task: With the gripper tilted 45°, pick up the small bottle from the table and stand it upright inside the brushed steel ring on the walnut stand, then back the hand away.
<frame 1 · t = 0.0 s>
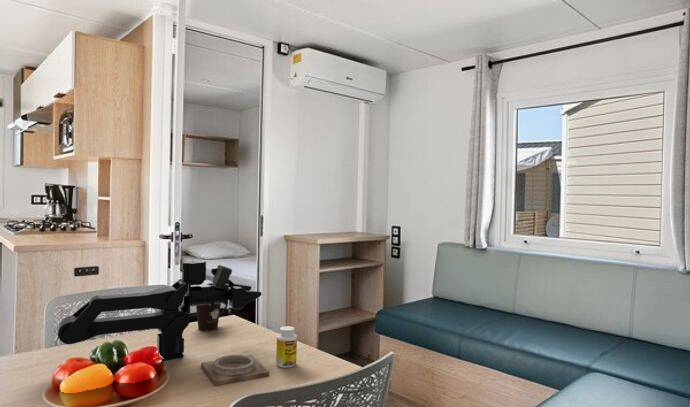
hand: (255, 290, 146), 17 cm above the table, tool horizontal, fingers open, 9 cm apart
coffee mug: (212, 328, 161), on the table
ring stand: (234, 370, 123), on the table
supplement bottle: (286, 365, 129), on the table
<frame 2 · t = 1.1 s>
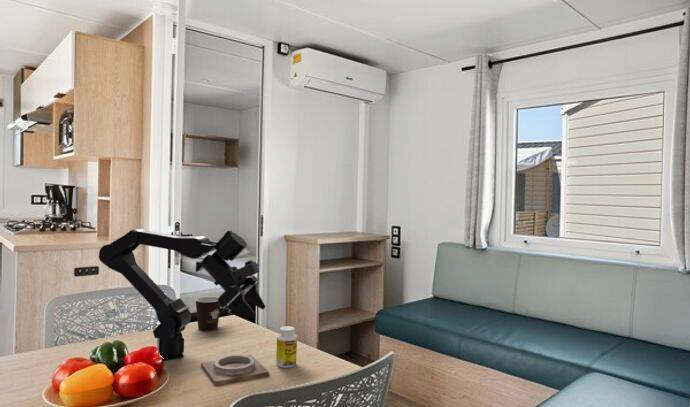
hand: (259, 312, 130), 14 cm above the table, tool tilted 45°, fingers open, 9 cm apart
nothing on the table moved.
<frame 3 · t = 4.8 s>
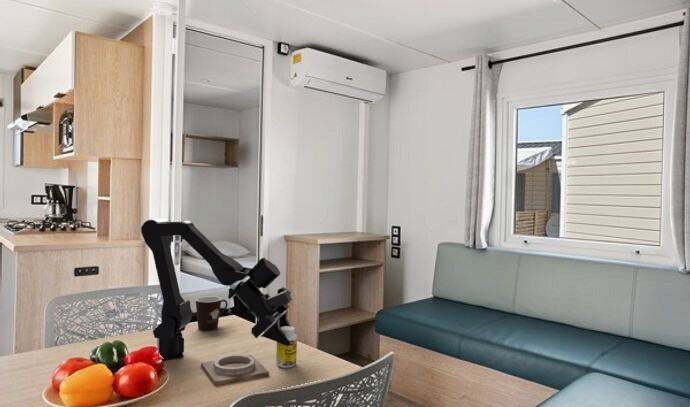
hand: (291, 341, 128), 7 cm above the table, tool tilted 45°, fingers closed on supplement bottle, 6 cm apart
supplement bottle: (286, 365, 129), on the table, touching gripper
everything else where it was.
when the fingers open (9 cm above the table, at t = 9.2 s): supplement bottle drops 1 cm, resting on ring stand.
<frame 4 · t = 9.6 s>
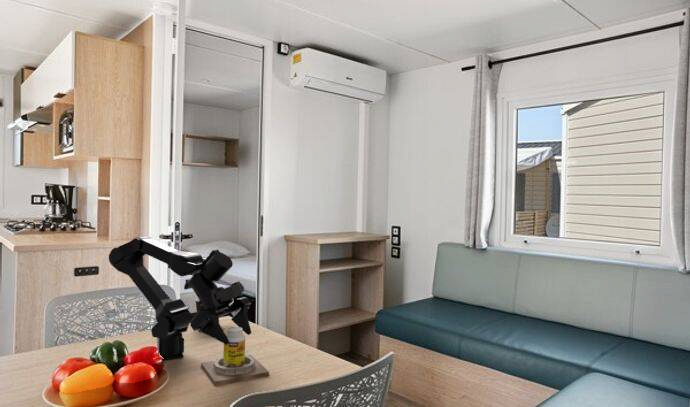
hand: (239, 338, 123), 9 cm above the table, tool tilted 45°, fingers open, 9 cm apart
supplement bottle: (233, 367, 123), point 1 cm above the table, touching ring stand
everything else where it was.
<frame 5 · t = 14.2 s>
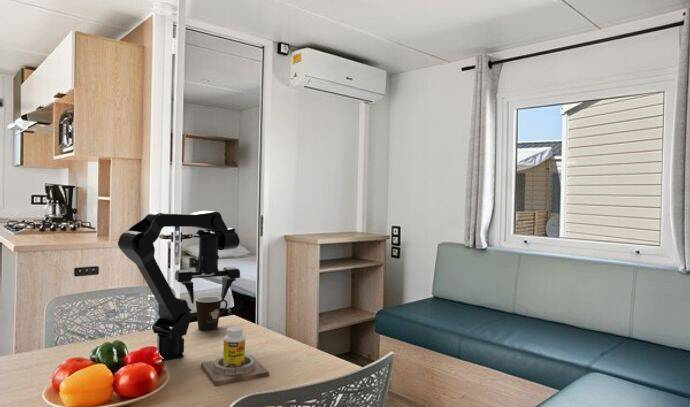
hand: (207, 301, 144), 13 cm above the table, tool pointing down, fingers open, 9 cm apart
nothing on the table moved.
at the end: supplement bottle 0.1 cm off-centre on the ring stand, point 0.8 cm above the ring stand's base; supplement bottle tilted 0°; the gripper is holding nothing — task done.
